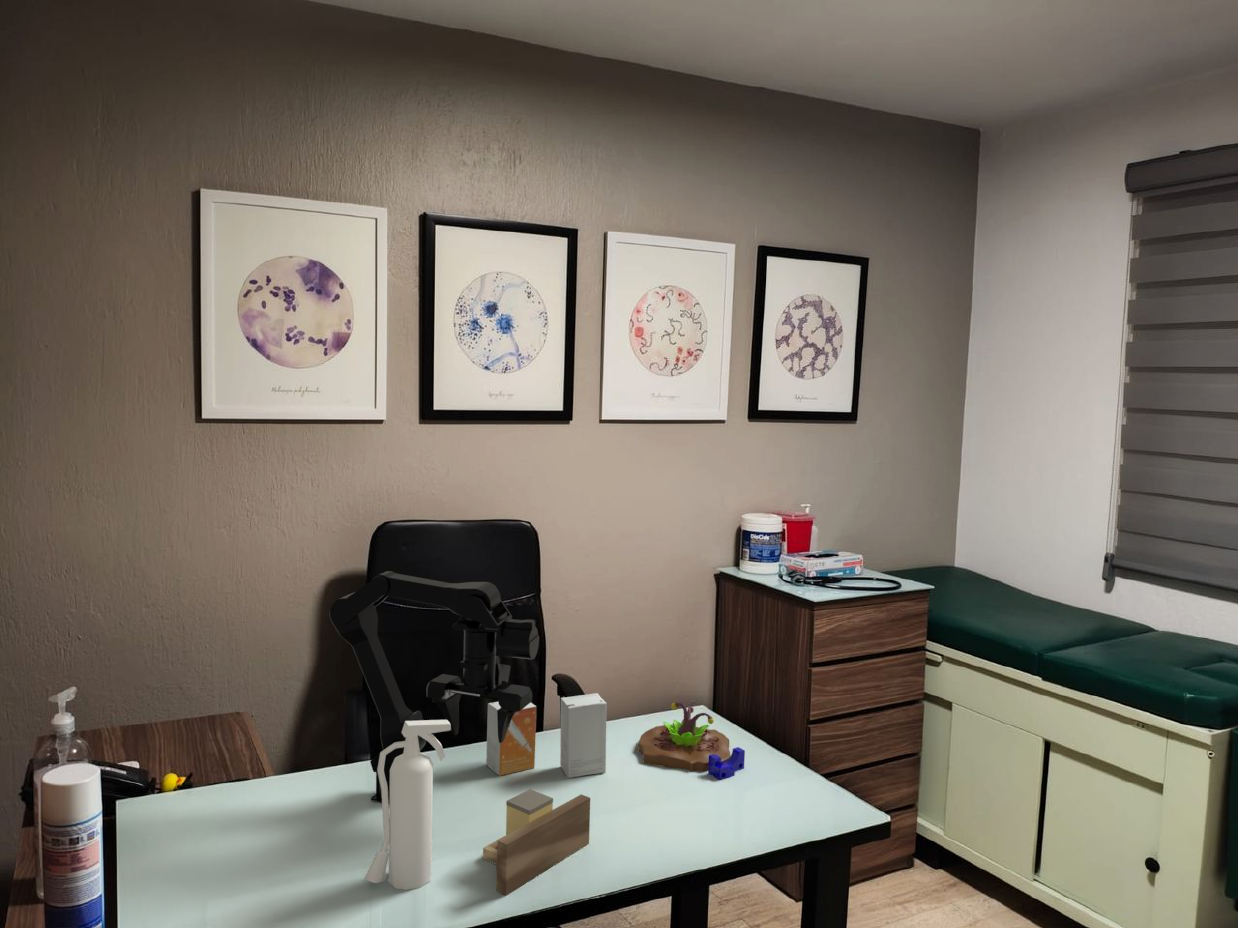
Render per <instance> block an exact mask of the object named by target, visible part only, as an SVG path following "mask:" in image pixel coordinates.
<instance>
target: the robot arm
mask: <svg viewBox="0 0 1238 928" xmlns="http://www.w3.org/2000/svg"><path fill="white" fill-rule="evenodd" d="M501 597H502V596H501V593H500V590H499V589H498V587H497V586H496V584H493V582H489V581H469V582H467V581H466V582H458V583H455V582H453V583H451V582H445V581H440V580H434V579H429V578H423V577H417V576H413V575H408V574H400V573H397V572H394V571H392V570H391V571H388V570H387V571H385V572H382V573H379V574H377V575H375V576H374V577H373V578H372V580H370V581H369V582H368V583H366V584H364V585H363V586H362V587H360V588H359V589H357V590H356V591H354V592H351V593H349V594H347V595H345V596H343V597H341V598H338V599H337V600H334V602H333V603H332V604H331V606H330V609H329V610H328V611H329V614H328V615H329V620H330V621H331V623H332V625H333V626H334V628H335V630H336V632H337V633H338V635H339V636H340V637H341V638H342V639H343V640H344V641H346V643H348V644H349V645H350V646H351V647H352V649H353V653H354V654H355V657H356V659H357V662H358V665H359V668H360V670H361V672H362V674H363V676H364V680H365V682H366V684H367V687H368V689H369V691H370V692H369V693H370V695H371V697H372V700H373V702H374V704H375V707H376V709H377V712H378V714H379V717H380V732H379V736H380V741H381V742H380V743H381V746H382V750H381V751H380V752H382V751H383V750H384V749H386V748H387V747H389V746H390V745H392V744H393V743H395V742H401V741H405V740H406V737H404V736H403V734H402V733H401V732H402V729H403V726H404V723H405V721H420V720H424V718H423V713H422V712H421V710H417V711H415V712H413V711H412V710H411V709H410V708H408V707H407V706H406V704H405V700H404V699H403V696H402V694H401V691H400V688H399V686H398V683H397V681H396V679H395V676H394V673H393V671H392V668H391V666H390V664H389V661H388V658H387V656H386V654H385V651H384V649H383V646H382V643H381V641H380V639H379V636H378V627H379V626H378V624H379V623H378V622H379V617H378V612H377V608H376V607H377V606H378V605H380V604H381V603H383V602H384V601H385V600H386V599H387V598H394V599H399V600H404V601H409V602H410V601H411V602H416V603H421V604H427V605H433V606H437V607H442V608H445V609H447V610H449V611H451V612H452V613H453V614H456V615H457V616H459V617H460V618H459V619H458V620H457V621H456V623H454V624H452V627H451V628H452V629H453V630H459V631H460V630H461V631H463V660H462V661H460V662H459V668H460V669H461V668H462V669H463V676H462V677H463V678H462V679H463V680H461V677H460V676H459V675H452V674H445V673H442V674H440V675H438V676H437V677H435V678H433V679H432V680H430V681H429V682H428V683H427V685H426V689H425V690H426V693H425V694H426V697H427V698H431V699H432V703H433V704H436V705H437V707H438V708H439V710H440V711H441V714H443V716H444V718H445V720H448V721H449V723H450V724H451V730H450V731H451V733H452V735H454V736H456V735H458V734H459V728H460V711H459V710H460V706H459V703H460V701H461V700H460V699H461V697H462V695H463V696H470V697H476V698H483V699H488V700H495V701H498V702H499V705H500V707H501V708H500V709H499V710H497V721H498V739H499V743H502V742H503V741H504V738H505V736H506V733H507V730H508V728H509V725H510V722H511V720H512V718H513V716H514V714H515V713H516V712H517V711H520V710H522V709H523V708H524V707H526V706H527V705H528V704H529V703H533V692H532V689H531V688H530V686H525V685H520V684H510V685H509V686H507V687H506V688H504V689H501V688H496V687H497V686H498V687H499V686H501V685H502V683H507V684H508V682H509V679H510V678H509V677H510V672H511V665H508V664H503V663H502V664H501V663H500V656H501V657H502V658H503V657H504V658H514V659H515V658H516V659H522V660H525V659H526V660H535V659H536V656H537V654H538V650H539V645H540V644H539V643H540V635H539V632H538V628H537V627H536V620H535V619H513V615H512V614H511V612H510V611H509V610H508V607H507V606H506V605H505V604H504V602H503V600H502V599H501ZM492 614H494V615H492ZM497 654H500V656H497ZM418 742H419V749H420V751H421V750H422V749H423V748H424V747H425V745H426V743H427V742H428V741H427V740H425V739H423V738H422V737H420V736H419V735H418ZM380 752H379V753H377V754H376V756H374V757H373V758H372V759H371V760H370V761H369V762H370V765H371V768H372V771H373V773H375V793H374V794H373V795H372V796H370V800H371V801H373V802H374V801H375V802H378V803H382V793H381V786H380V781H379V776H378V771H377V768H378V763H379V757H380ZM403 752H404V747H402V748H396V749H394V750H393V751H391V752H390V753H388V754H387V755H386V757H385V764H384V774H385V778H386V782H387V786H388V803H389V805H390V768H391V766H392V763H393V761H394V759H395V757H397V756H399V755H402V754H403Z"/></svg>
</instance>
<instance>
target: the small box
mask: <svg viewBox="0 0 1238 928" xmlns="http://www.w3.org/2000/svg"><path fill="white" fill-rule="evenodd" d="M500 708H501V707H500V705H499V701H494V702H489V703H487V721H486V725H487V726H486V727H487V728H486V766H487V767H488V768H490V769H491V770H492V772H494V774H496V775H498V777H500V776H505V775H508V774H512V773H517V772H522V771H526V770H532V769H534V768H535V765H536V763H535V761H536V759H535V758H536V732H537V731H536V729H537V705H535V704H534V703H533V702H531V703H529V704H528V705H527V706H526V707H524V708H523V709H522V710H520V711H517V712H516V713H515V714H514V716H513V718H512V720H511V722H510V725H509V728H508V730H507V733H506V736H505V738H504V741H503V742H502V743H499V739H498V721H497V710H499V709H500Z"/></svg>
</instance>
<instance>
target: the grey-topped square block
mask: <svg viewBox="0 0 1238 928" xmlns="http://www.w3.org/2000/svg"><path fill="white" fill-rule="evenodd" d="M553 803H554V798H553V797H551V796H549V795H546V794H544V793H541V792H538V791H536V790H534V789H532V788H529V789H527V790H525V791H523V792H521V793H519V794H517V795H515V796H513V797H511V798H510V799H507V800H506V805H505V806H506V824H505V825H506V826H505V835H508V834H510V833H512V832H514V831H515V830H517V829H519V828H521V827H523V826H524V825H526V824H528V823H530V822H532V821H534V820H535V819H537V818H539V817H541V816H543V815H544V814H546V813H548V812H550V811H552V810H553Z"/></svg>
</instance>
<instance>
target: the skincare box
mask: <svg viewBox="0 0 1238 928" xmlns="http://www.w3.org/2000/svg"><path fill="white" fill-rule="evenodd" d="M607 705H608V703H607V702H606V701H605V700H604V699H603V698H602V697H601V696H600V694H599V693H598V692H597V693H596V692H595V693H590V694H587V693H586V694H582V695H581V694H579V695H574V696H567V697H564V696H563V697H560V712H559V713H560V716H559V717H560V743H559V745H560V768H561V769H562V770H563V772H564V774H565V775H566V777H567V778H568V779H571V778H575V777H582V776H590V775H596V774H602V773H606V772H607V771H606V770H607V767H606V766H607V763H606V761H607V755H606V754H607V707H608V706H607Z"/></svg>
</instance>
